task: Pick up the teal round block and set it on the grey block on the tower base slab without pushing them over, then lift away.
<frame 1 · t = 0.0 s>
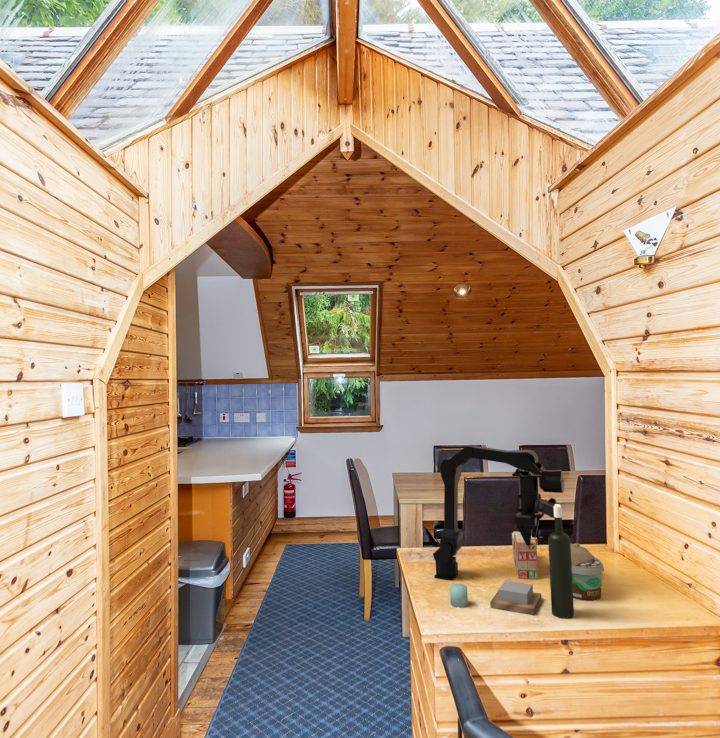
hand: (531, 541, 164), 15 cm above the table, tool pointing down, fingers open, 9 cm apart
food container: (591, 598, 156), on the table
teal round block: (459, 604, 154), on the table
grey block: (516, 597, 154), point 2 cm above the table, touching tower base slab
tower base slab: (516, 606, 153), on the table, touching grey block
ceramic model: (577, 574, 176), on the table
wine bottle: (562, 614, 145), on the table
stack of blocks: (524, 568, 182), on the table
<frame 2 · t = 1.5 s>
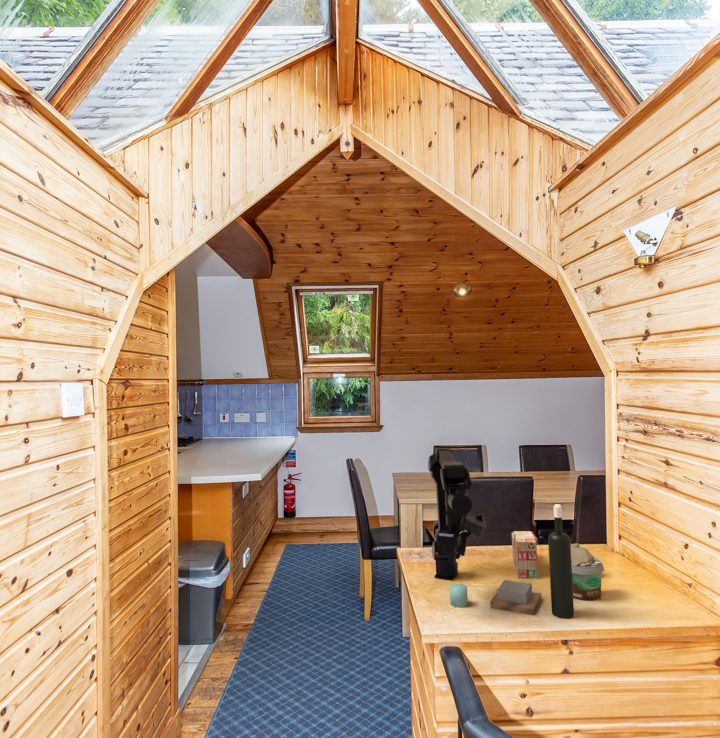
hand: (457, 560, 155), 13 cm above the table, tool pointing down, fingers open, 9 cm apart
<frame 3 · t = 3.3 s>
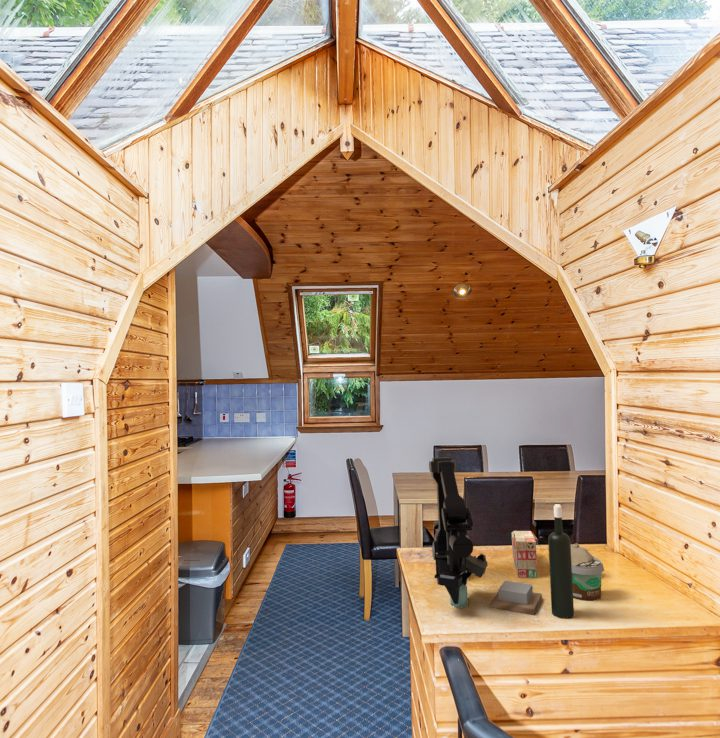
hand: (459, 600, 154), 1 cm above the table, tool pointing down, fingers closed on teal round block, 5 cm apart
teal round block: (459, 604, 154), on the table, touching gripper
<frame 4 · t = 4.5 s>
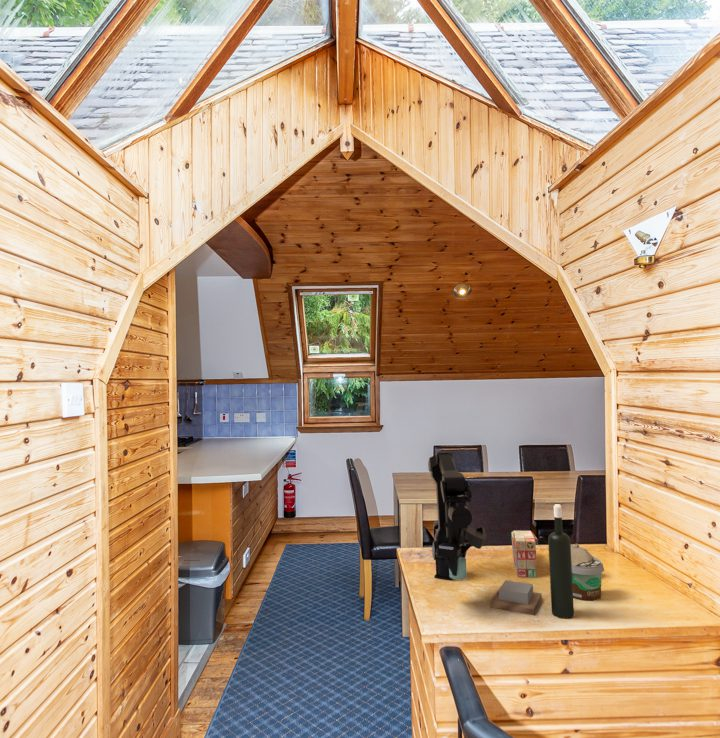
hand: (457, 572, 155), 9 cm above the table, tool pointing down, fingers closed on teal round block, 5 cm apart
teal round block: (458, 576, 155), point 8 cm above the table, touching gripper
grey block: (516, 597, 154), point 2 cm above the table
tower base slab: (516, 606, 153), on the table
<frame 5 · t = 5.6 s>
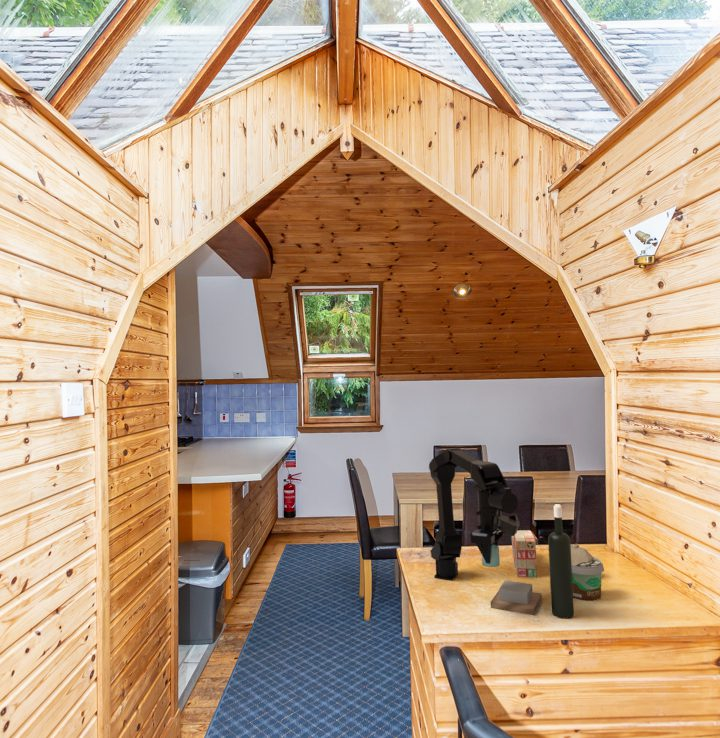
hand: (490, 560, 154), 13 cm above the table, tool pointing down, fingers closed on teal round block, 5 cm apart
teal round block: (491, 564, 154), point 12 cm above the table, touching gripper
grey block: (516, 597, 154), point 2 cm above the table, touching tower base slab
tower base slab: (516, 606, 153), on the table, touching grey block
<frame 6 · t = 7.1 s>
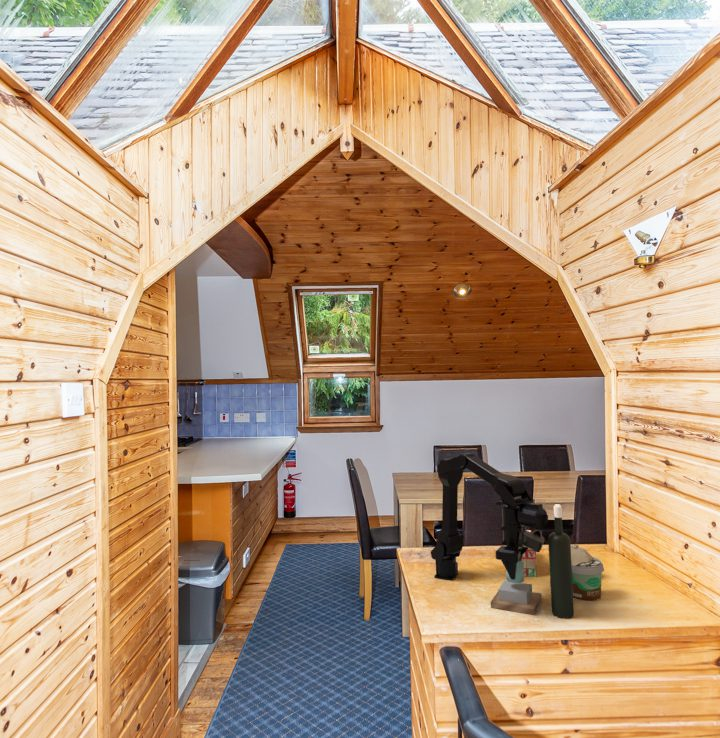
hand: (515, 576, 154), 8 cm above the table, tool pointing down, fingers closed on teal round block, 5 cm apart
teal round block: (515, 579, 154), point 7 cm above the table, touching gripper
when the fingers open (7 cm above the table, at t = 7.6 s): teal round block drops 2 cm, resting on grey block.
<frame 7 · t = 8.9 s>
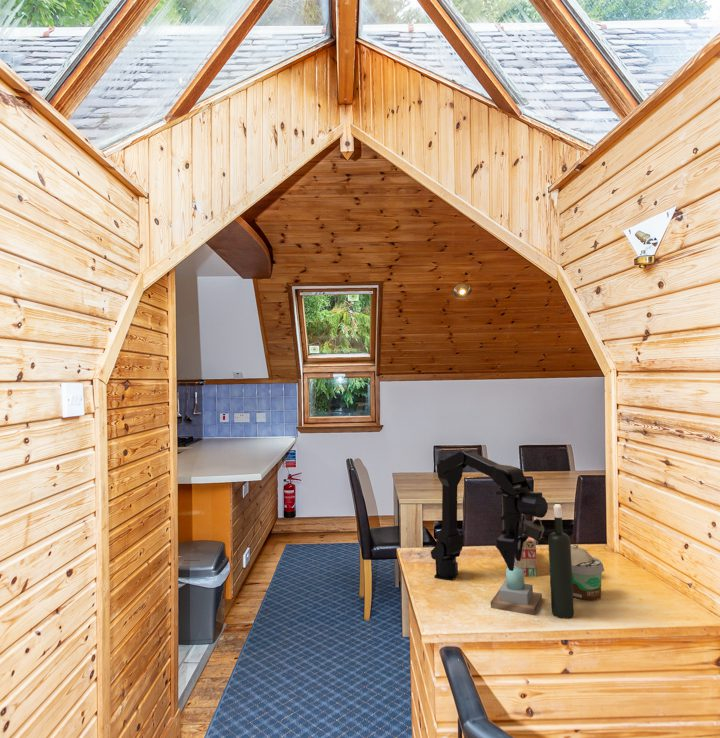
hand: (515, 565, 154), 11 cm above the table, tool pointing down, fingers open, 9 cm apart
teal round block: (515, 587, 153), point 5 cm above the table, touching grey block
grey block: (516, 597, 153), point 2 cm above the table, touching teal round block, tower base slab
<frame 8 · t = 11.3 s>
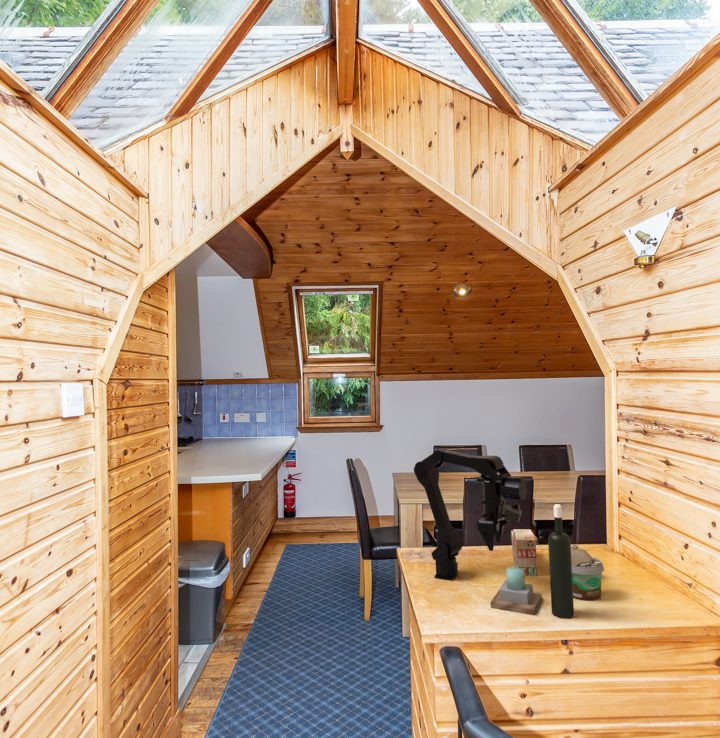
hand: (495, 546, 166), 13 cm above the table, tool pointing down, fingers open, 9 cm apart
at the end: teal round block 0.3 cm off-centre on the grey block, point 3.0 cm above the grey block's base; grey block moved 0.8 cm from its start; the gripper is holding nothing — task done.
